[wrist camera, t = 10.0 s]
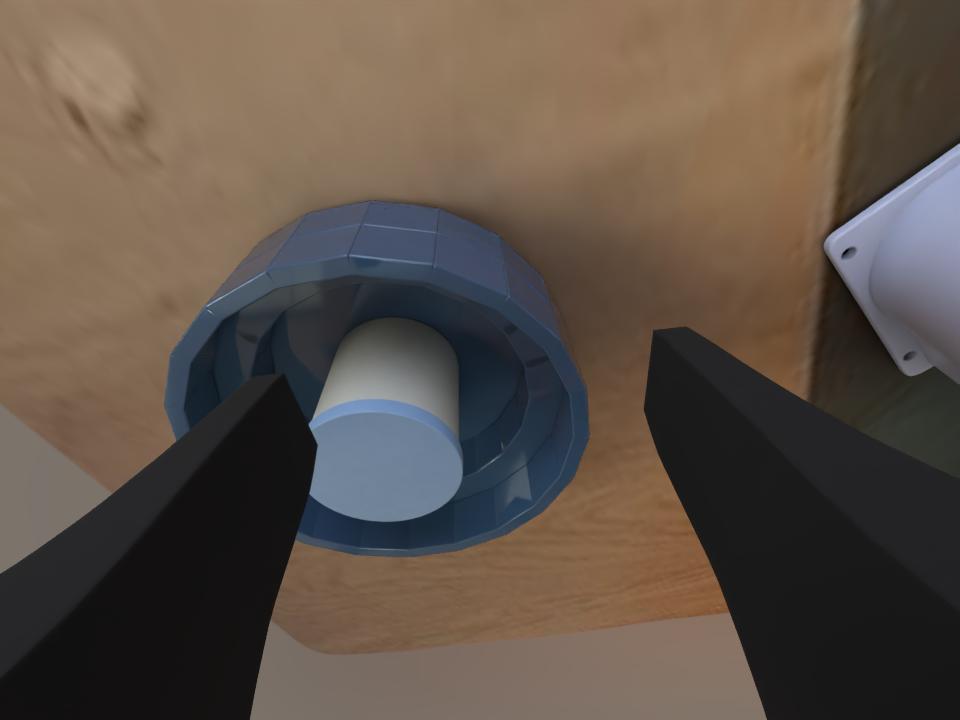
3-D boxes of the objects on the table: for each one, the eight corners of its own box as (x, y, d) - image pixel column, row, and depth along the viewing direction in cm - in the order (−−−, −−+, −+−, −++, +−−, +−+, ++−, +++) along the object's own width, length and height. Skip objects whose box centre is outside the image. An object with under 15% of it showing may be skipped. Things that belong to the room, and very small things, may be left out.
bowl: (629, 351, 21) (670, 434, 17) (422, 503, 27) (415, 590, 23) (361, 100, 15) (323, 135, 11) (168, 369, 20) (97, 457, 16)
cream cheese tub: (488, 365, 20) (497, 467, 16) (408, 433, 22) (395, 540, 18) (384, 287, 18) (359, 382, 13) (306, 372, 20) (261, 477, 16)
